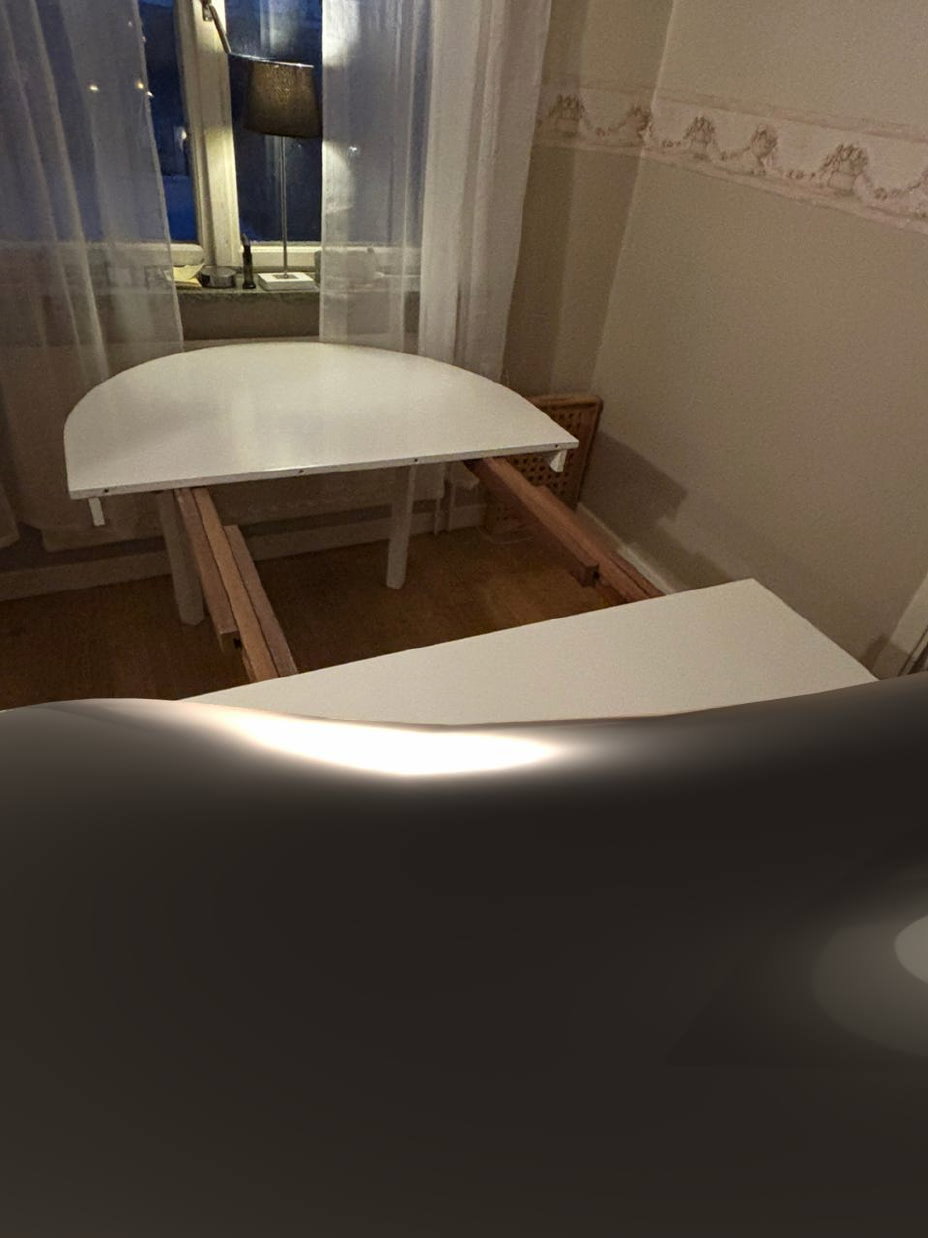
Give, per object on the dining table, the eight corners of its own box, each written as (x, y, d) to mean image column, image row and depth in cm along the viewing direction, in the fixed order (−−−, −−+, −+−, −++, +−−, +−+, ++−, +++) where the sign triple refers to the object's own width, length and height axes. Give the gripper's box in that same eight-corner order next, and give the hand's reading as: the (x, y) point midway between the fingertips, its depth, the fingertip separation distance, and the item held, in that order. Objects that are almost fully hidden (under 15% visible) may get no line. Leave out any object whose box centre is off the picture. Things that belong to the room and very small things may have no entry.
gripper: (289, 1260, 21) (492, 1167, 35) (165, 853, 30) (366, 903, 43) (94, 1412, 22) (368, 1262, 35) (25, 966, 30) (267, 981, 43)
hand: (367, 1064), depth 39 cm, fingers open, 8 cm apart
